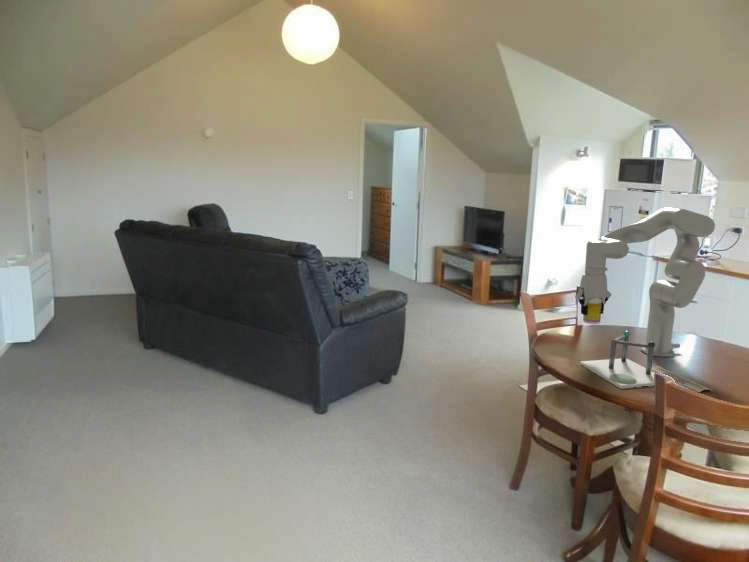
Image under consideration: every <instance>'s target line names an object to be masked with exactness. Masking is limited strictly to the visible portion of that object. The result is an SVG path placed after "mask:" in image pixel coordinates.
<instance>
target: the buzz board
mask: <svg viewBox="0 0 749 562" xmlns="http://www.w3.org/2000/svg"><path fill="white" fill-rule="evenodd" d="M609 359H610V358H609ZM609 359H597V360H596V359H595V360H594V359H592V360H581V361H579V362H580V363H579V364H580V366H582V365H583V366H582V367H583V368H586V369H588V370H589V371H591V372H592V373H593V374H595V373H596V375H598V376H599V377H600V378H602V379H604V380H606V381H607V382H609V383H610V384H612V385H614V386H616V387H617V388H618V389H622V390H623V389H632V388H634V387H636V388H643V387H642V386H648V387H655V386H654V374H655V372H653V371H651V375H647V374H645V373H646V366H642V365H641V364H639V363H638V362H634V361H632V360H631V359H629V358H626V362H622V361H621V358H615V361H614V369H609Z"/></svg>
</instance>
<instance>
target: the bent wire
mask: <svg viewBox="0 0 749 562" xmlns="http://www.w3.org/2000/svg"><path fill="white" fill-rule="evenodd" d="M630 336H631V332H630V331H629V330H624V331H623V335H620V336H619V337H616V338H615V339H614V338H613V339H611V341H610V343H611V344H610V353H609V369H614V361H615V359H616V350H617V345H622V348H621V349H622V350H621V357H620V359H621V361H622V362H626V358H627V356H628V355H627V354H628V347H629V346H632V347H639V348H641V347H645V348H648V354H647V357H646V366H645V368H646V373H645V374H647V375H651V368H652V367H653V366H652V365H653V360H654V359H653V358H654V356H653V352H654V347H655V343H654V342H652V341H651V342H649V343H648V345H647V344H646V343H639V342H632V341H631V342H630V341H629V338H630ZM627 359H628V358H627Z"/></svg>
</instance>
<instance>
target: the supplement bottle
mask: <svg viewBox="0 0 749 562" xmlns="http://www.w3.org/2000/svg"><path fill="white" fill-rule="evenodd" d="M596 297H598V294H597V295H596ZM601 304H602V300H601V299H599V298H595V299H589V301H588V303H587V305H586V306H588V309H587V315H583V314H582V318H583V319H582V322H584V323H585V324H589V325H598V324H600V323H601V317H602V314H601Z"/></svg>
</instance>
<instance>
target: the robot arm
mask: <svg viewBox="0 0 749 562" xmlns="http://www.w3.org/2000/svg"><path fill="white" fill-rule="evenodd" d="M715 226H716V225H715V220H713V218H712V217H710V216H708V215H705V214H702V213H698V212H695V211H692V210H689V209H685V208H677V207H675V208H674V207H662V208H660V209H658V210H657V211H655V212H653V213H651V214H650V215H648V216H646V217H645V218H643V219H641V220H639V221H637V222H635V223H632V224H628V225H626V226H623V227H622V226H621V227H619V228H616V229H614V230H612V231H610V232H608V233H606V234H604V235H603V236H601V237H599V238H598V240H597V239H594V240H588V242H587V243H586V252H585V265H584V266H585V268H584V273H583V274H582V277H581V280H580V285H579V289H578V290H579V291H578V293H577V294H575V295H574V298H575V299H576V300H577V302H578V303H579V304H580V314H582V316H583V315H587V309H588V306H586V305H587V303H588V301H589V299H595V298H599V299H601V300H602V304H601V315H603V314H604V310H605V309H604V308H605V305H606V304H607V302H608V300H609V298H611V297H612V293H611V292H610V291H609V290H608V278H607V275H606V272H607V271H608V267H606V265H607V259H612V260H613V259H614V260H621V259H623V258H625V257H626V256H628V254H629V251H630V250H629V249H630V248H629V245H628V244H633V243H635V244H637V243H643V242H648V241H650V240H652V239H653V238H655V237H656V236H659V235H660V234H662V233H664V232H666V231H667V230H674V232H675V235H676V240H677V241H676V245H675V248H674V249H673V252H671V255H670V257H669V259H668V261H667V262H666V264H665V267H664V275H666V277H668V278H669V279H672V280H675V281H678V282H674V281H671V280H667V279H658V280H655V281H654V282H652V284H651V285H650V287H649V290H648V296H649V297H648V298H649V312H648V313H649V314H648V321H647V329H646V337H645V344H647V345H648V343H649V342H651V341H652V342H654V343H655V347H654V352H653V357H661V358H667V357H668V358H669V357H672V356H674V354H675V351H674V349H679V348H680V347H681V344H680V343H679V342H678V343H673V342H672V339H673V332H674V331H673V329H674V321H675V317H676V316H675V315H676V313H675V308H678V309H683V308H686V307H687V306H689V305H690V304H691V303H692V302H693V300H694V298H695V296H696V295H697V293H698V291H699V289H700V288H701V285H702V284H703V281H704V280H705V277H706V267H705V265H704V264H703V262H701V261H699V260H696V259H697V256H698V254H699V251H700V241H699V238H706V237H709V236H710V235H712V234H713V232H714V231H715V229H716V227H715ZM597 294H598V297H596V295H597ZM640 351H641V352H642V353H644V354H647V355H648V348H645V347H640Z"/></svg>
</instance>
